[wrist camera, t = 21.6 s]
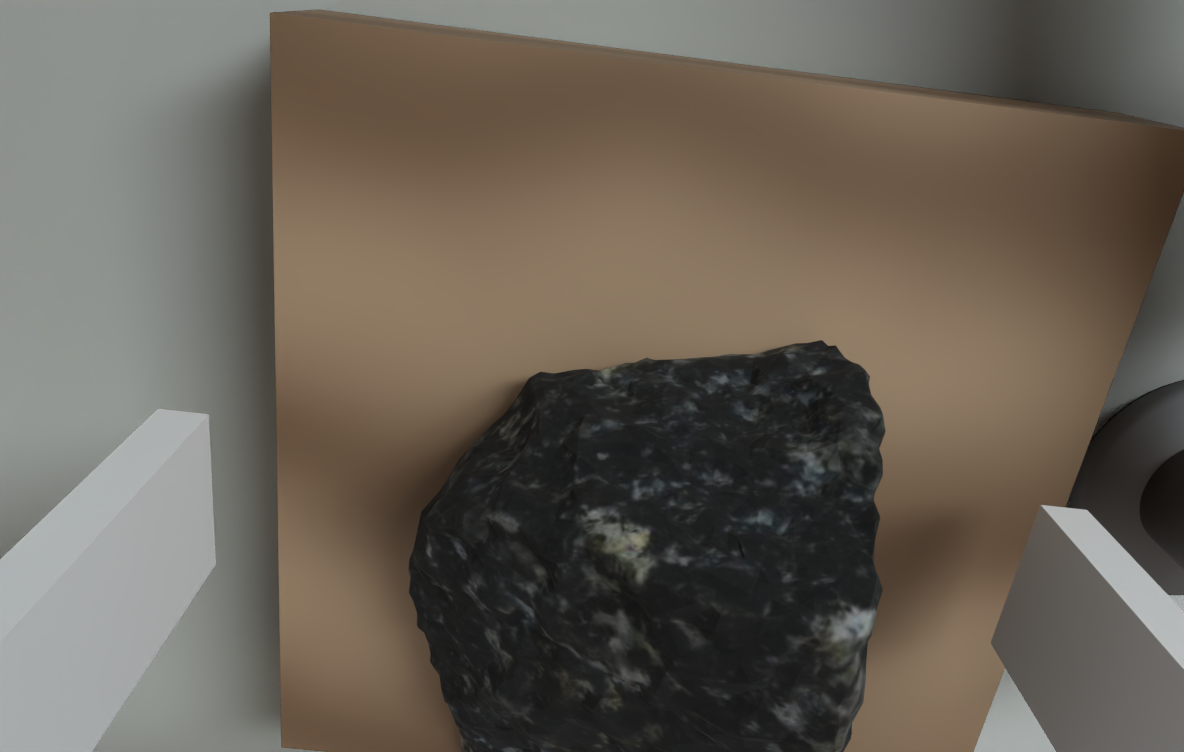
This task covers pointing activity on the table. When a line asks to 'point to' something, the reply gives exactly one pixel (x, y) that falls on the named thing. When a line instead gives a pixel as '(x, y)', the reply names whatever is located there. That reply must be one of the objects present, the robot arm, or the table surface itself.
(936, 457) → the seat
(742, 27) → the table surface
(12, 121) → the table surface
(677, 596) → the rock
